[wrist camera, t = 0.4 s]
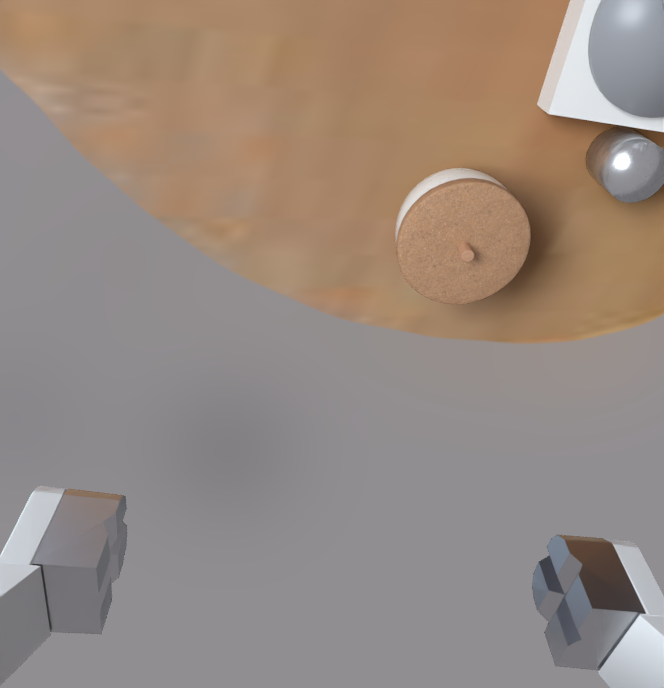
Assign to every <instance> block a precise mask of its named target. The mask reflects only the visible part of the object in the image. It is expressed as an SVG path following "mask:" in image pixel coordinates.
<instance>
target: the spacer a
mask: <svg viewBox="0 0 664 688" xmlns="http://www.w3.org/2000/svg"><path fill="white" fill-rule="evenodd" d="M586 167H587V170H588V172H589V173H590V175H591V176H592V177H593V178H594V179H595V180H597V181H598V182H599V183H600V184H601V185H602V186H603V187H604V188H605V189H606V190H607V191H609V192H610V193H611V194H612V195H613V196H614V197H615V198H616V199H618V200H620V201H623V202H629V203H632V202H639V201H642V200H644V199H647V198H649V197H650V196H652V195H653V194H654V193H656V192H657V191H658V190H659V189H660V188H661V186H662V185H663V184H664V149H662V148H661V147H660V146H658V145H657V144H655V143H653V142H652V141H650V140H649V139H647V138H646V137H644V136H643V135H641V134H640V133H638V132H637V131H635V130H633V129H632V128H629V127H625V126H617V127H613V128H610V129H607V130H606V131H604V132H602V133H601V134H600V135H598V136H597V137H596V138H595V139H594V141H593V142H592V143H591V145H590V147H589V149H588V151H587V154H586Z"/></svg>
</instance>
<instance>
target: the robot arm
mask: <svg viewBox="0 0 664 688" xmlns="http://www.w3.org/2000/svg"><path fill="white" fill-rule="evenodd" d="M126 509H127V508H126V497H125V496H124V495H117V494H109V493H108V494H107V493H100V492H91V491H83V490H74V489H64V488H55V487H54V488H53V487H45V486H38V487H37V489H35V490H34V491H33V493H32V494H31V496H30V498H29V500H28V502H27V504H26V506H25V508H24V510H23V512H22V514H21V516H20V518H19V520H18V522H17V524H16V526H15V528H14V530H13V532H12V534H11V536H10V538H9V540H8V542H7V544H6V545H5V547H4V549H3V552H2V553H1V555H0V686H1V684H2V683H3V682H4V681H5V680H6V679H7V678H8V677H9V676H10V675H11V674H12V673H13V672H14V671H15V670H16V669H17V668H18V667H19V666H20V665H21V664H22V663H23V662H24V661H25V660H26V659H27V658H28V657H29V656H30V655H31V654H32V653H33V652H34V651H35V650H36V649H37V648H38V647H39V646H40V645H41V644H42V643H43V642H44V641H45V640H46V639H47V638H48V637H49V636H50V635H51V633H50V632H63V633H87V634H88V633H89V634H102V630H103V627H104V624H105V621H106V618H107V614H108V611H109V608H110V605H111V602H112V587H111V584H112V583H113V582H114V581H115V580H116V579H117V578H119V575H120V571H121V568H122V565H123V560H124V555H125V550H126V542H127V525H126V524H125V523H124V522H123V518H124V515H125V512H126ZM547 549H548V552H549V556H547V557H546V558H544V559H542V560H541V561H539V562H538V565H537V567H536V569H535V571H534V573H533V583H532V589H533V597H534V601H535V605H536V608H537V610H538V612H539V613H540V614H541V615H542V616H543V617H544V618H545V619H546V620H547V621H548V625H547V627H546V630H545V632H544V633H545V636H546V639H547V642H548V645H549V648H550V651H551V654H552V657H553V660H554V663H555V666H560V667H570V668H580V669H591V670H599V672H598V673H599V675H600V676H601V677H602V678H603V679H604V681H605V682H606V683H607V684H608V686H609V687H610V688H664V596H663V594H662V592H661V590H660V589H659V587H658V585H657V583H656V581H655V579H654V577H653V575H652V573H651V571H650V569H649V568H648V566H647V564H646V562H645V560H644V558H643V556H642V554H641V552H640V550H639V548H638V547H637V546H636V545H635V544H634V543H633V542H632V541H623V540H611V539H603V538H593V537H580V536H566V535H556V536H554V537H553V538H551V540H550V542H549V544H548V545H547Z"/></svg>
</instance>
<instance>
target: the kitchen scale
mask: <svg viewBox="0 0 664 688" xmlns="http://www.w3.org/2000/svg"><path fill="white" fill-rule="evenodd" d="M537 105H538V106H539V107H540V108H541V109H543V110H544V111H545V112H546V113H548V114H552V115H558V116H564V117H571V118H577V119H583V120H590V121H596V122H602V123H609V124H615V125H621V126H628V127H634V128H640V129H646V130H653V131H659V132H664V10H663V8H662V5H661V0H570V3H569V6H568V9H567V12H566V15H565V18H564V21H563V25H562V28H561V31H560V34H559V37H558V40H557V43H556V47H555V50H554V53H553V56H552V59H551V62H550V65H549V69H548V72H547V75H546V78H545V81H544V84H543V87H542V91H541V94H540V97H539V100H538V103H537Z"/></svg>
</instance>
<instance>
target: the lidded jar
mask: <svg viewBox="0 0 664 688" xmlns="http://www.w3.org/2000/svg"><path fill="white" fill-rule="evenodd" d="M395 240H396V252H397V259H398V263H399V266H400V269H401V272H402V274H403V276H404V277H405V279H406V281H407V282H408V283H409V284H410V285H411V287H412V288H414V289H415V290H416V291H417V292H418V293H420V294H421V295H423V296H425V297H426V298H429V299H431V300H434V301H437V302H441V303H447V304H465V303H470V302H475V301H478V300H481V299H484V298H486V297H488V296H491V295H493V294H494V293H496V292H497V291H499V290H501V289H502V288H503V287H504V286H506V285H507V284H508V283H509V282H510V281H511V280H512V279H513V278H514V277H515V276H516V275H517V273H518V272H519V270H520V269H521V267H522V266H523V264H524V262H525V260H526V258H527V254H528V251H529V248H530V241H531V228H530V223H529V219H528V216H527V214H526V212H525V210H524V208H523V207H522V205H521V204H520V202H519V201H518V199H517V198H516V197H515V196H514V195H513V194H512V193H511V192H509V191H508V190H507V189H506V188H505V186H504V185H502V184H501V183H500V182H498V181H497V180H496V179H494V178H493V177H491V176H489V175H487V174H485V173H483V172H480V171H476V170H473V169H467V168H452V169H447V170H443V171H440V172H437V173H434V174H432V175H431V176H429V177H427V178H425V179H424V180H422V181H421V182H420V183H418V184H417V185H416V186H415V187H414V188H413V189H412V190H411V192H410V193H409V194H408V196H407V197H406V198H405V200H404V202H403V204H402V206H401V209H400V212H399V214H398V218H397V223H396V237H395Z"/></svg>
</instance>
